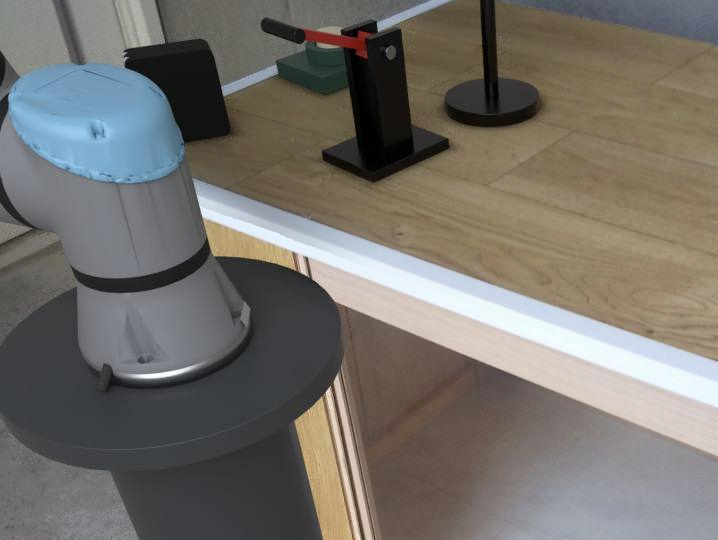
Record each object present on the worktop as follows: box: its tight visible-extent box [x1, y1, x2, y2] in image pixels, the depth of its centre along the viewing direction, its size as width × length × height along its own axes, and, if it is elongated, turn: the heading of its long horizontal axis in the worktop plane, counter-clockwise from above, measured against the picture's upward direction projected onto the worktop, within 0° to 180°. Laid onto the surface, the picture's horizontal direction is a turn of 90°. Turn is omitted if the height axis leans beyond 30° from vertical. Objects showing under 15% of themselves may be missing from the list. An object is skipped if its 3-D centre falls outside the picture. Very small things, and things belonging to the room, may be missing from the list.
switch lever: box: [260, 16, 373, 58], centre depth 104 cm, size 14×6×2 cm, turn 138°
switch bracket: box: [321, 18, 450, 183], centre depth 112 cm, size 12×9×14 cm
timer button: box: [315, 25, 344, 48], centre depth 132 cm, size 4×4×2 cm
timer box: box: [275, 41, 349, 96], centre depth 134 cm, size 12×10×4 cm
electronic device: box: [121, 38, 232, 143], centre depth 118 cm, size 4×10×10 cm, turn 112°
